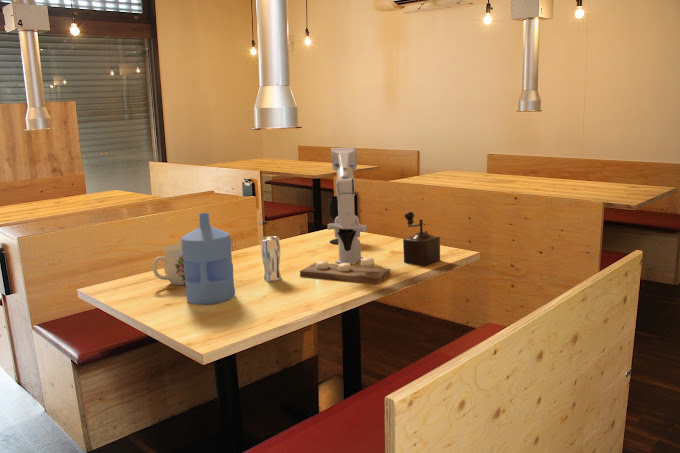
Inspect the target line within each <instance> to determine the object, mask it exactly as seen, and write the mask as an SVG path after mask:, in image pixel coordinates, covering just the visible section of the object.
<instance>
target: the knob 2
mask: <svg viewBox="0 0 680 453" xmlns="http://www.w3.org/2000/svg"><path fill="white" fill-rule="evenodd" d="M337 264H338V271H340V272H348V271H351V270H352V268H351V266H352V264H350V263H337Z"/></svg>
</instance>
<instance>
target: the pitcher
mask: <svg viewBox="0 0 680 453" xmlns="http://www.w3.org/2000/svg"><path fill="white" fill-rule="evenodd" d="M162 251H163V254H164V256H157V257H155V258H154V260H153V262H152V272H153V274H154V276H155V277H156V278H158V279H159V280H162V281H163V280H165V281H169V283H171V285H173V286H184V284H185V285H186V282H185V275H184V261H183V252H182V242H179V243H178V242H177V243H174V244H173V243H172V244H168V245H165V246H164V247H163V248H162ZM159 261H162V262H163V270H164V273H165V275H162V274H160V273H159V272H158V269H157V264H158V262H159Z"/></svg>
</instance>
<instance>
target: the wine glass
mask: <svg viewBox="0 0 680 453" xmlns="http://www.w3.org/2000/svg"><path fill="white" fill-rule="evenodd" d="M327 204H328V206H327V210H328V214H329V218H331V219H332V220H333V221H334V222H335V218H336V217H337V216H338V200H337V195H334V196H330V197H329V199H328V203H327ZM329 243H330V244H331V245H338V246H339V244H338V238H334V239H330V240H329Z"/></svg>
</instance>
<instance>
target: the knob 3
mask: <svg viewBox="0 0 680 453" xmlns="http://www.w3.org/2000/svg"><path fill="white" fill-rule="evenodd" d="M374 260H375V259H374V258H373V257H363V258H362V259H361V260H360V263H359V265H360V266H361V267H373V266H375V261H374Z"/></svg>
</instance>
